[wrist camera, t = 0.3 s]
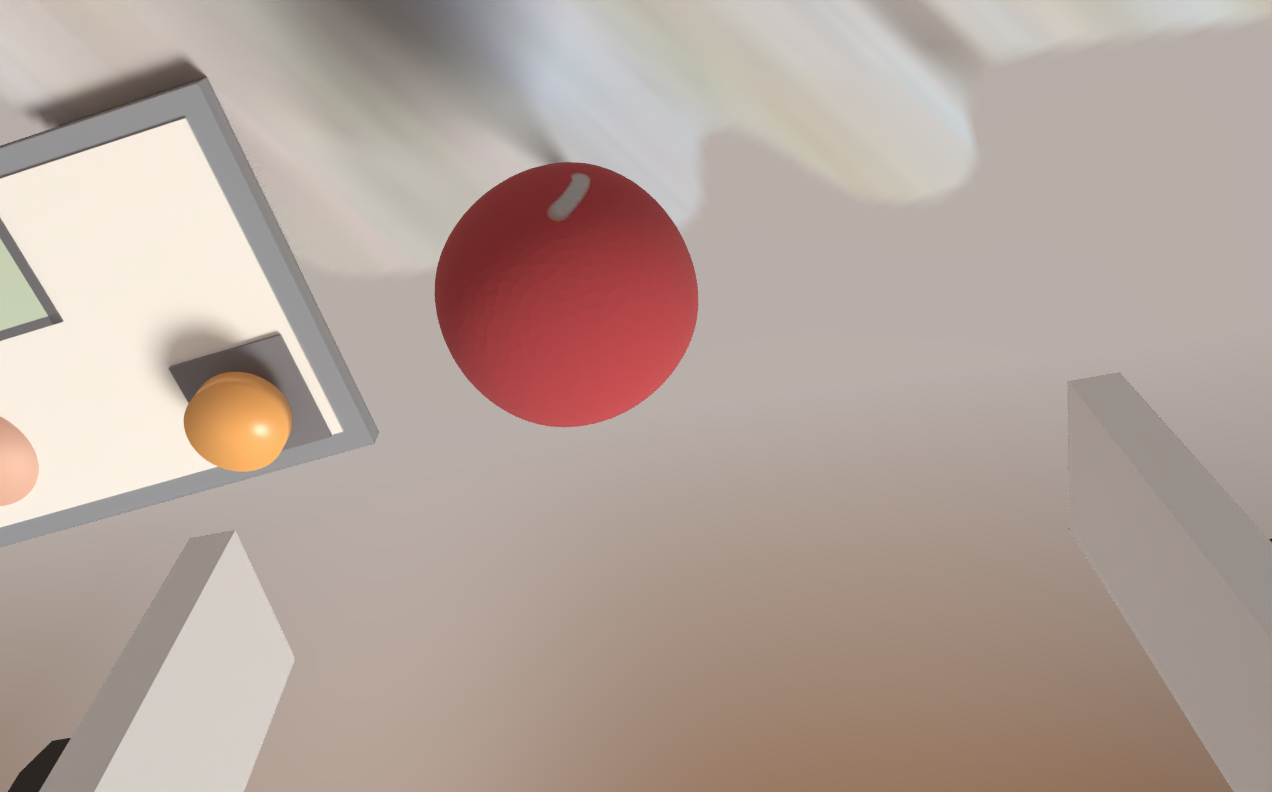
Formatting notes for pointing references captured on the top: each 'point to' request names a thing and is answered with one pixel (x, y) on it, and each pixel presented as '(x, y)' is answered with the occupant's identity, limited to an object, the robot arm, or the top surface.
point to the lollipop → (566, 295)
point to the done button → (238, 421)
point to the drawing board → (146, 313)
